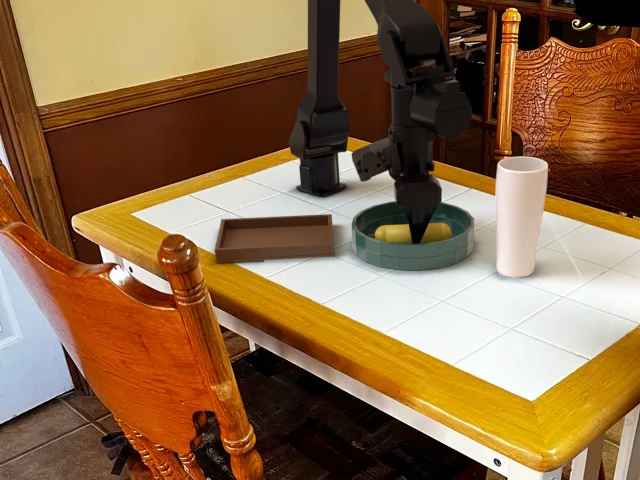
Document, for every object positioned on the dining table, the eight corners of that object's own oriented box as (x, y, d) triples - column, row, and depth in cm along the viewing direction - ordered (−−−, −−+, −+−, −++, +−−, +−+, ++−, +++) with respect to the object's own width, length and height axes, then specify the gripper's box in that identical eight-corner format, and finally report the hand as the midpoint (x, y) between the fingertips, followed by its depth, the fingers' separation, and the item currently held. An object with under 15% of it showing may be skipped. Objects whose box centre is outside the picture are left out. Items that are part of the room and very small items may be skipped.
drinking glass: (543, 265, 121) (553, 158, 112) (533, 284, 116) (543, 174, 106) (497, 259, 123) (503, 154, 113) (485, 278, 117) (491, 169, 108)
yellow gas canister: (450, 239, 128) (450, 219, 126) (452, 247, 126) (453, 227, 124) (368, 243, 127) (367, 222, 125) (369, 251, 125) (368, 230, 123)
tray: (332, 226, 133) (331, 213, 132) (334, 257, 124) (333, 244, 123) (223, 232, 132) (221, 218, 131) (216, 263, 123) (214, 249, 121)
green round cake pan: (405, 216, 137) (405, 191, 134) (496, 243, 127) (498, 217, 125) (328, 251, 126) (326, 225, 123) (422, 283, 117) (422, 255, 114)
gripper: (350, 106, 122) (355, 211, 132) (356, 143, 108) (362, 259, 117) (426, 103, 123) (426, 208, 133) (443, 140, 108) (441, 255, 118)
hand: (412, 231), depth 125 cm, fingers open, 9 cm apart
